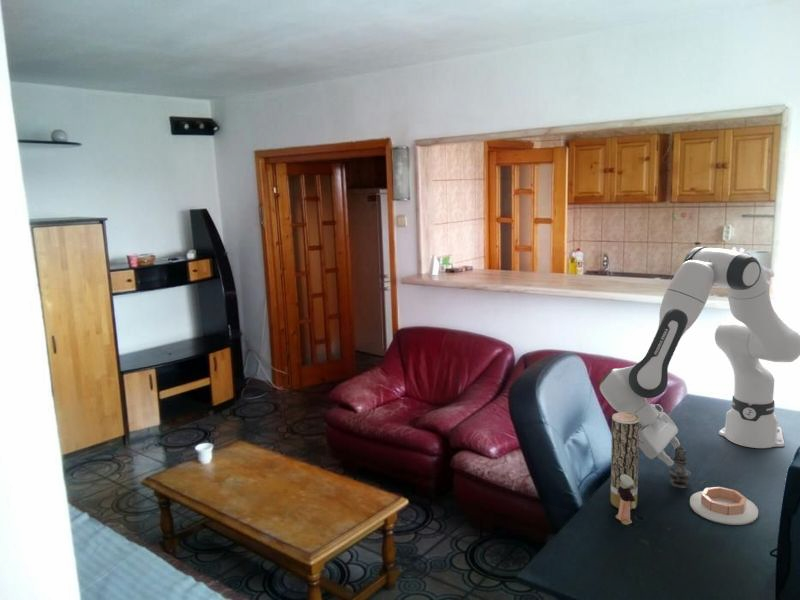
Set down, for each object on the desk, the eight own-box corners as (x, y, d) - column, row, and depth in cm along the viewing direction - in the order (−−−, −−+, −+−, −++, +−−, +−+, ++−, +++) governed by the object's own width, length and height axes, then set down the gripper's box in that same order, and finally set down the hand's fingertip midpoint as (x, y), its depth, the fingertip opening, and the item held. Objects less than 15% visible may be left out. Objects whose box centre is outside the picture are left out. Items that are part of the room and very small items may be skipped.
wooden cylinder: (606, 505, 169) (607, 418, 165) (617, 495, 174) (618, 410, 170) (630, 513, 165) (633, 424, 160) (641, 503, 170) (643, 416, 165)
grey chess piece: (692, 489, 176) (694, 449, 174) (670, 488, 177) (671, 448, 175) (687, 479, 182) (689, 440, 179) (666, 478, 183) (667, 439, 181)
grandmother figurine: (608, 515, 164) (609, 470, 162) (619, 512, 166) (620, 467, 163) (629, 530, 157) (631, 483, 155) (641, 526, 159) (642, 479, 157)
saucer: (698, 488, 176) (698, 476, 176) (762, 504, 167) (763, 491, 166) (682, 512, 164) (683, 500, 163) (751, 531, 154) (752, 518, 154)
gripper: (639, 425, 173) (675, 466, 169) (661, 402, 189) (694, 440, 184) (622, 436, 177) (657, 478, 172) (645, 414, 192) (678, 451, 188)
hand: (677, 458), depth 179 cm, fingers open, 8 cm apart
